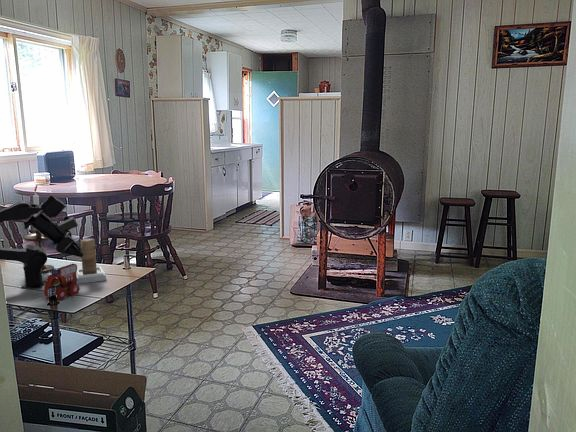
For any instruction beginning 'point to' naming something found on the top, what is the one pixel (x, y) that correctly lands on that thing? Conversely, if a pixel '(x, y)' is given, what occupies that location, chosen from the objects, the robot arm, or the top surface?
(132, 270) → the top surface
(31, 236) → the candlestick
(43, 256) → the robot arm
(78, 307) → the top surface
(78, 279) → the base plate
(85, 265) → the walnut pillar
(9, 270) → the top surface
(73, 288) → the toy fire truck
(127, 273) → the top surface
